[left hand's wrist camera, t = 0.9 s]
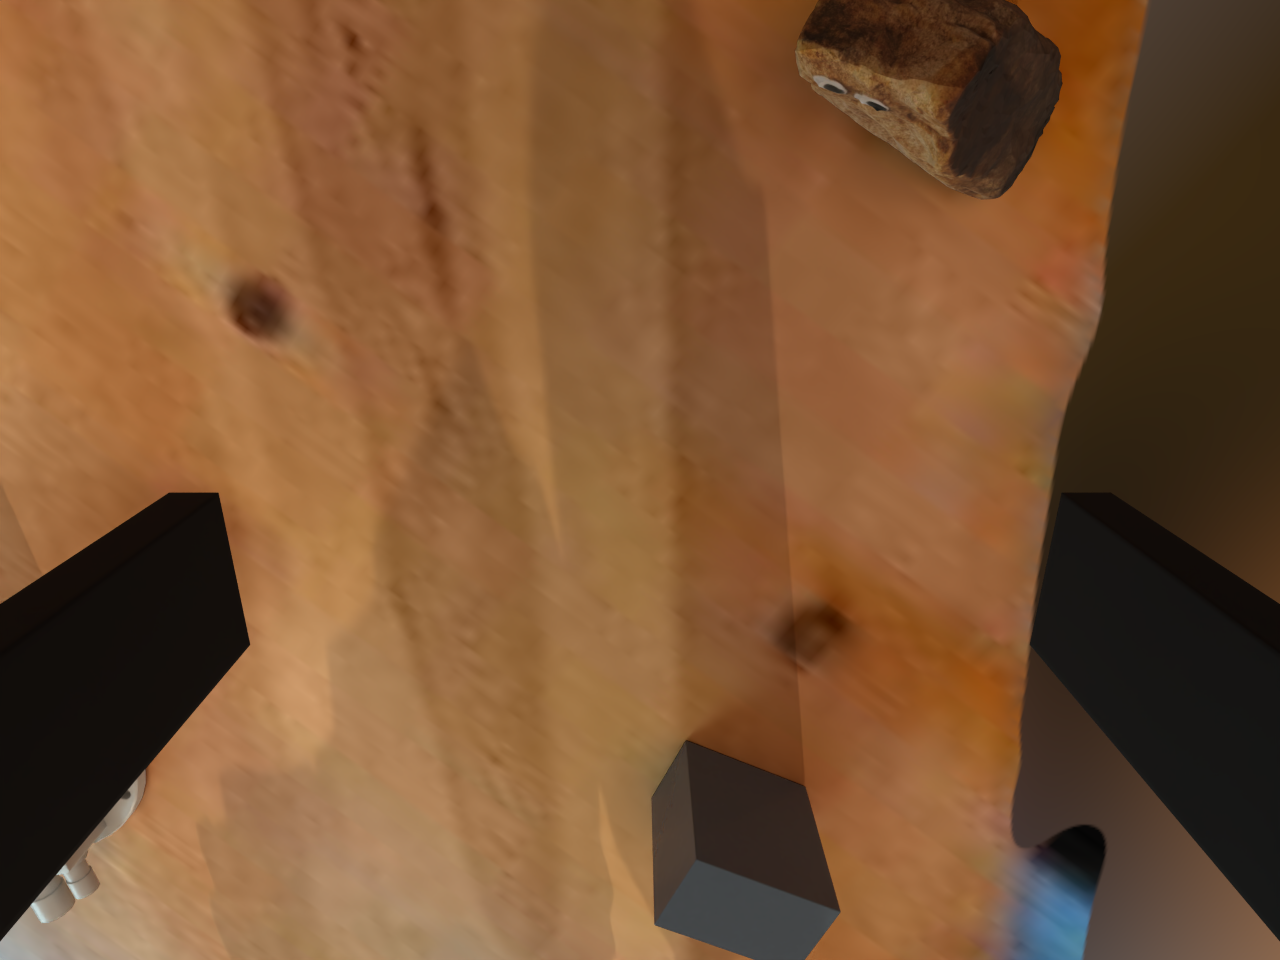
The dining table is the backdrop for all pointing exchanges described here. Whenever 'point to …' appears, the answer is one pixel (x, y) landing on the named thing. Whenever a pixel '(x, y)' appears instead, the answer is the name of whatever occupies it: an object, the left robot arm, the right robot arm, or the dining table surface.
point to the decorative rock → (938, 82)
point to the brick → (738, 858)
